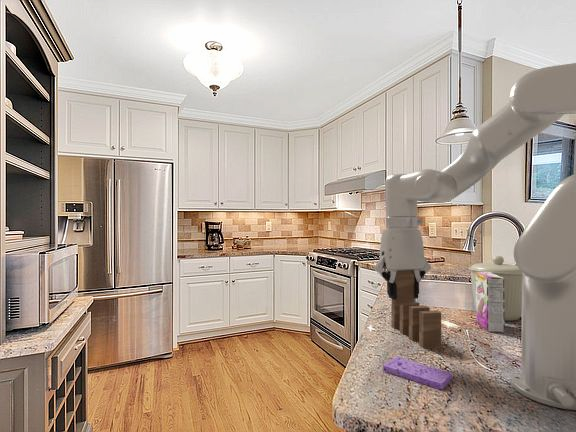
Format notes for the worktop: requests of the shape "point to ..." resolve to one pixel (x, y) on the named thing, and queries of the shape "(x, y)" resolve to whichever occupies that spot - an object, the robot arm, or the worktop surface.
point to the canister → (511, 285)
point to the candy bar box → (490, 301)
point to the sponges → (418, 372)
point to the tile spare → (404, 288)
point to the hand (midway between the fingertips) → (403, 297)
